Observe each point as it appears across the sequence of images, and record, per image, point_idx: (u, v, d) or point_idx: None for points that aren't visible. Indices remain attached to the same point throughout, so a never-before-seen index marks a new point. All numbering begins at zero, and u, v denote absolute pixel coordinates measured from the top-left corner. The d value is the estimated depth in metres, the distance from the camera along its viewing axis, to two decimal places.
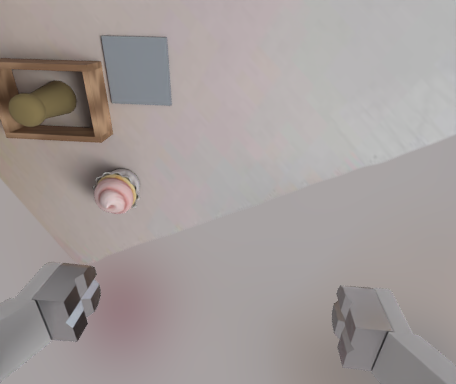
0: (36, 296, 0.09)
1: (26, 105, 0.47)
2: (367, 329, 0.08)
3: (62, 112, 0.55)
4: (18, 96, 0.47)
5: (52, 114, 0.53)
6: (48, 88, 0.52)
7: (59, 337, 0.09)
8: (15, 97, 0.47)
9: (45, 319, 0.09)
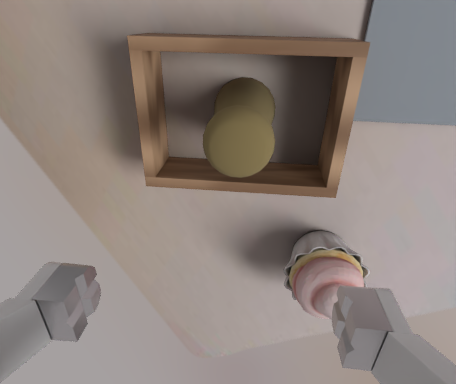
0: (36, 296, 0.09)
1: (257, 133, 0.20)
2: (367, 329, 0.08)
3: None
4: (237, 113, 0.20)
5: None
6: (253, 94, 0.26)
7: (59, 337, 0.09)
8: (230, 115, 0.20)
9: (45, 319, 0.09)
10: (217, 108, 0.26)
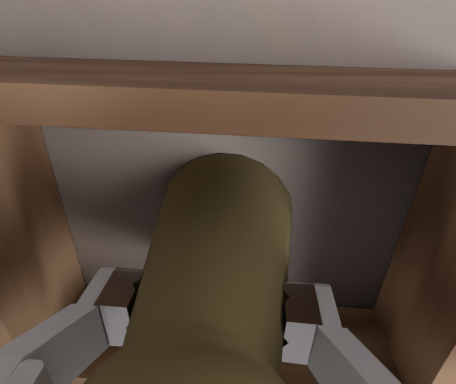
0: (97, 302, 0.09)
1: None
2: (297, 323, 0.08)
3: None
4: None
5: None
6: (241, 221, 0.10)
7: (117, 342, 0.09)
8: None
9: (105, 324, 0.09)
10: (147, 257, 0.10)
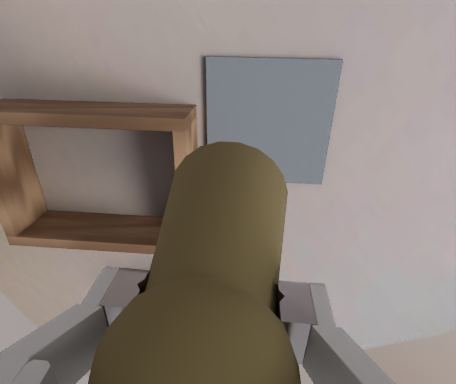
0: (102, 302, 0.09)
1: None
2: (292, 322, 0.08)
3: None
4: (173, 358, 0.06)
5: None
6: (239, 196, 0.11)
7: None
8: (150, 366, 0.06)
9: None
10: (160, 230, 0.11)
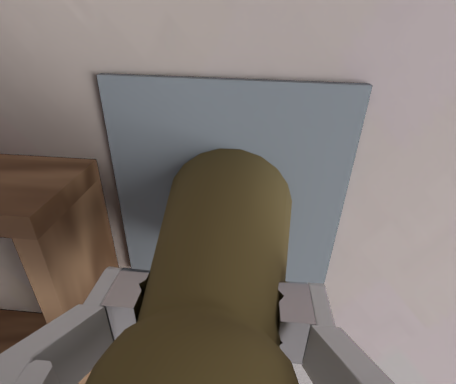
0: (104, 302, 0.09)
1: None
2: (291, 322, 0.08)
3: None
4: None
5: None
6: (241, 210, 0.10)
7: None
8: None
9: (112, 325, 0.09)
10: (156, 246, 0.11)
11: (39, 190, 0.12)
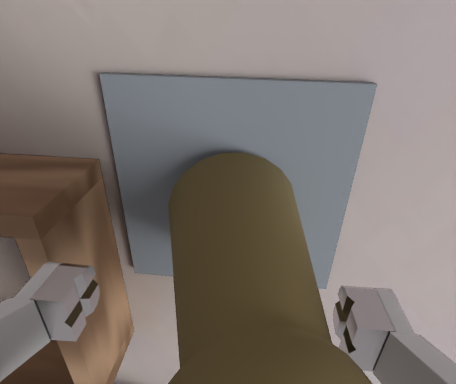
0: (35, 296, 0.09)
1: None
2: (369, 329, 0.08)
3: None
4: None
5: None
6: (267, 217, 0.10)
7: (58, 337, 0.09)
8: None
9: (44, 319, 0.09)
10: (179, 264, 0.10)
11: (42, 190, 0.12)
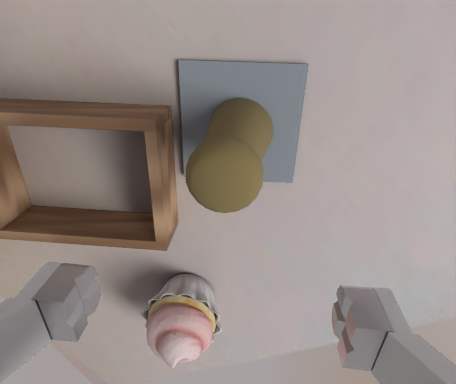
0: (36, 296, 0.09)
1: (240, 169, 0.18)
2: (367, 329, 0.08)
3: None
4: (219, 146, 0.19)
5: None
6: (245, 118, 0.24)
7: (59, 337, 0.09)
8: (212, 149, 0.19)
9: (45, 319, 0.09)
10: (207, 134, 0.24)
11: (152, 113, 0.26)
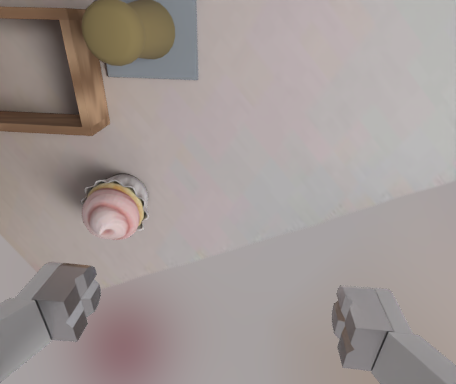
0: (36, 296, 0.09)
1: (119, 17, 0.24)
2: (367, 329, 0.08)
3: (157, 51, 0.33)
4: (103, 0, 0.24)
5: (147, 49, 0.30)
6: (141, 4, 0.30)
7: (59, 337, 0.09)
8: (97, 2, 0.24)
9: (45, 319, 0.09)
10: None
11: None
